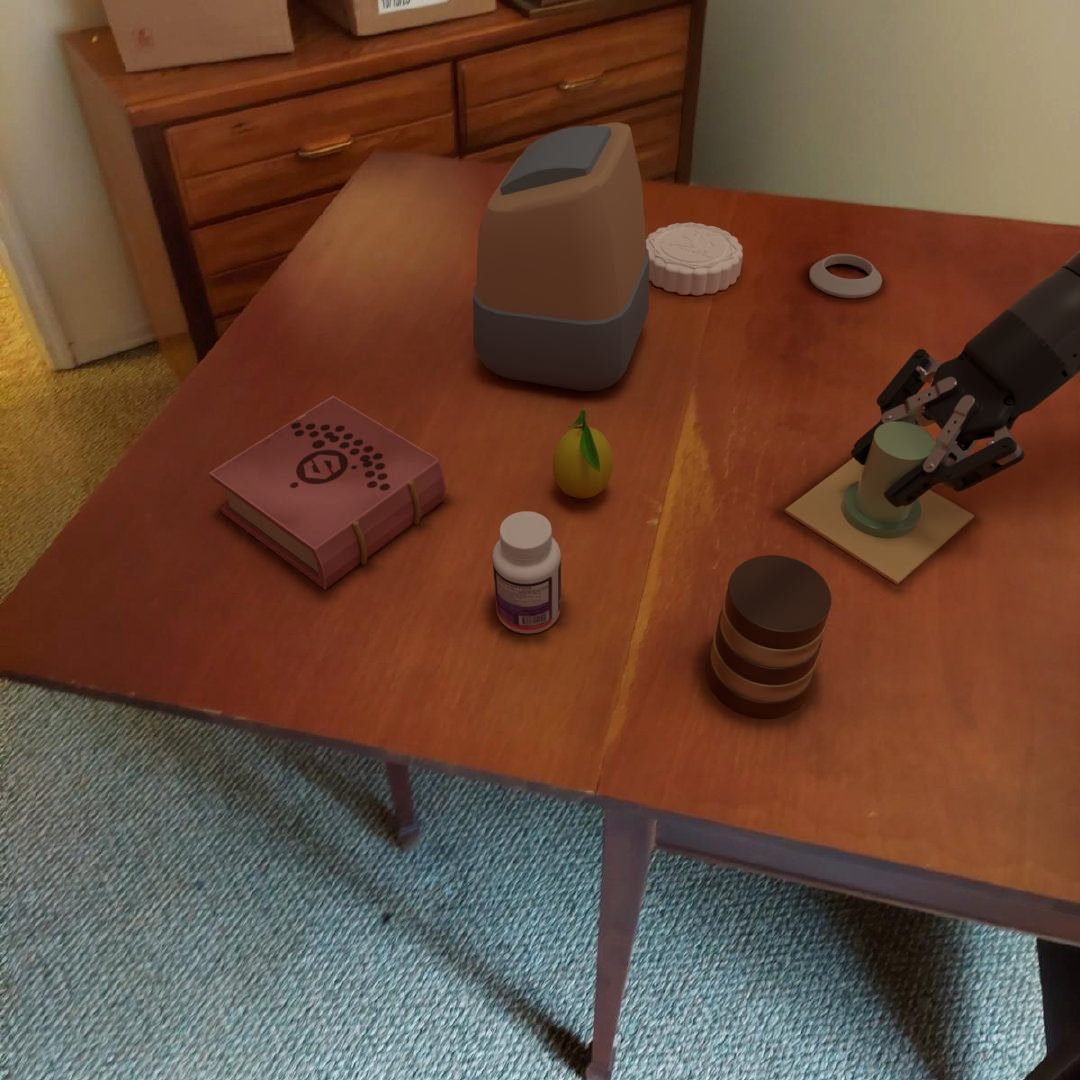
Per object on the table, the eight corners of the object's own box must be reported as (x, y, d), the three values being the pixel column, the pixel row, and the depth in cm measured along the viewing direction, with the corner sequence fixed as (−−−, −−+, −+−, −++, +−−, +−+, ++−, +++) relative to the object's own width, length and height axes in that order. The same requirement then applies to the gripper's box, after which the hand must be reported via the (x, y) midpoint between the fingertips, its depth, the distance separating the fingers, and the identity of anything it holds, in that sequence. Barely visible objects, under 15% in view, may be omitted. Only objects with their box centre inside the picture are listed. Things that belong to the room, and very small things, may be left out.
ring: (871, 261, 117) (875, 248, 116) (888, 299, 112) (892, 285, 110) (803, 261, 117) (805, 248, 116) (816, 299, 112) (819, 285, 110)
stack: (830, 677, 75) (860, 594, 67) (765, 737, 71) (789, 656, 64) (750, 618, 79) (770, 534, 71) (685, 672, 75) (699, 589, 68)
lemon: (597, 527, 86) (601, 443, 79) (539, 507, 88) (537, 423, 81) (626, 482, 90) (632, 398, 83) (570, 464, 92) (572, 380, 85)
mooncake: (756, 262, 117) (760, 235, 115) (712, 307, 111) (716, 280, 108) (669, 235, 122) (672, 209, 119) (622, 278, 115) (624, 250, 113)
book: (332, 594, 81) (321, 554, 77) (223, 512, 88) (208, 472, 84) (450, 504, 88) (446, 463, 85) (341, 435, 95) (333, 395, 92)
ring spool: (933, 513, 86) (962, 441, 80) (889, 550, 83) (916, 478, 77) (870, 475, 90) (893, 404, 84) (826, 509, 87) (846, 438, 81)
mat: (973, 518, 87) (974, 515, 86) (897, 585, 81) (898, 582, 81) (861, 453, 93) (862, 450, 92) (784, 512, 87) (784, 509, 87)
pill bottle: (518, 577, 82) (514, 495, 75) (572, 601, 80) (574, 519, 73) (483, 619, 79) (476, 538, 72) (539, 645, 77) (537, 565, 70)
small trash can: (512, 300, 112) (505, 98, 95) (652, 321, 109) (670, 115, 92) (465, 384, 101) (448, 171, 84) (620, 410, 98) (634, 194, 81)
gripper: (971, 270, 79) (812, 412, 85) (1087, 370, 70) (898, 521, 76) (1005, 315, 84) (851, 446, 90) (1117, 413, 74) (937, 552, 81)
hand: (873, 479), depth 83 cm, fingers closed on ring spool, 5 cm apart
